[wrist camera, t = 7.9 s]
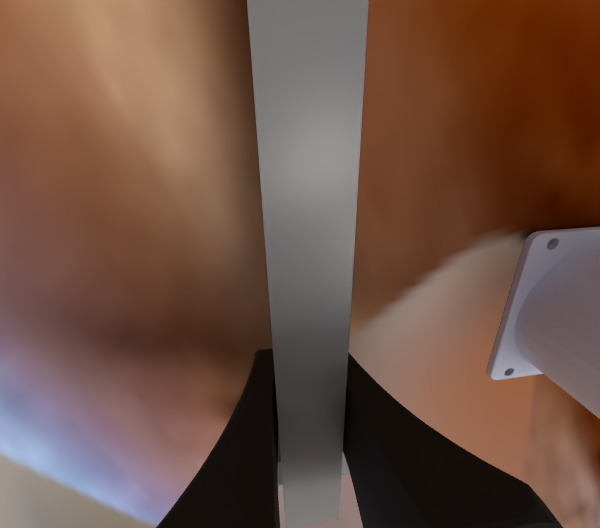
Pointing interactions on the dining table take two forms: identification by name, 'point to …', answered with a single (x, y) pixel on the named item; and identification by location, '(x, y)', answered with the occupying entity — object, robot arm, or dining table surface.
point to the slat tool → (309, 228)
